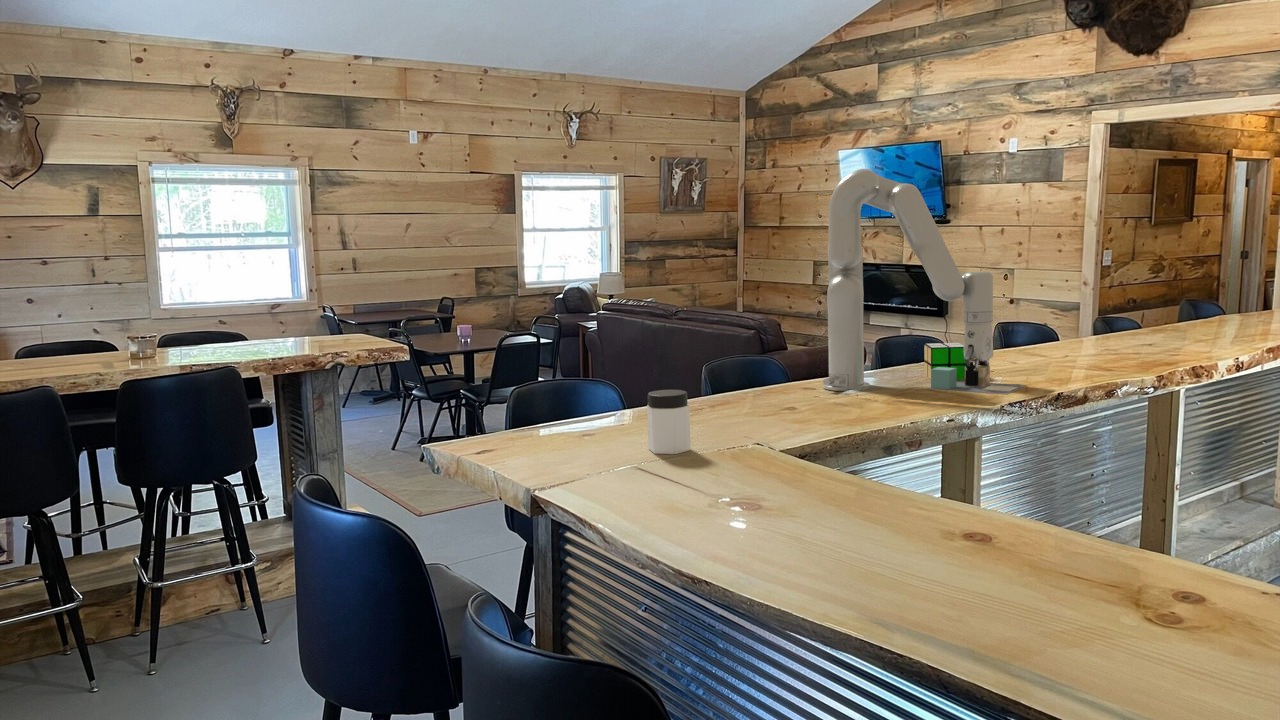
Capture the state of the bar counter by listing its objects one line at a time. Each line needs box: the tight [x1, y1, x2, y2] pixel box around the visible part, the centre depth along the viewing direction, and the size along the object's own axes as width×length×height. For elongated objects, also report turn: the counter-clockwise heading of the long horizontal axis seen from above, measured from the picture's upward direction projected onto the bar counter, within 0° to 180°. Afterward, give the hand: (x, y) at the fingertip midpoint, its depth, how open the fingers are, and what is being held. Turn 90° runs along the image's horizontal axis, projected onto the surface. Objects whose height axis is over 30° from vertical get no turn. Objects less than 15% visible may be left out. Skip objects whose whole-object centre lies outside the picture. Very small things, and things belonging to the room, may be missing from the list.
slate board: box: [926, 380, 1028, 396], centre depth 247 cm, size 16×21×1 cm
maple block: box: [964, 365, 991, 387], centre depth 249 cm, size 5×5×5 cm
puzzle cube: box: [923, 342, 966, 380], centre depth 266 cm, size 10×10×10 cm
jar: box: [646, 389, 692, 455], centre depth 190 cm, size 9×8×12 cm
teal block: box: [930, 367, 957, 389], centre depth 248 cm, size 5×5×5 cm
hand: (977, 382), depth 249 cm, fingers open, 7 cm apart
